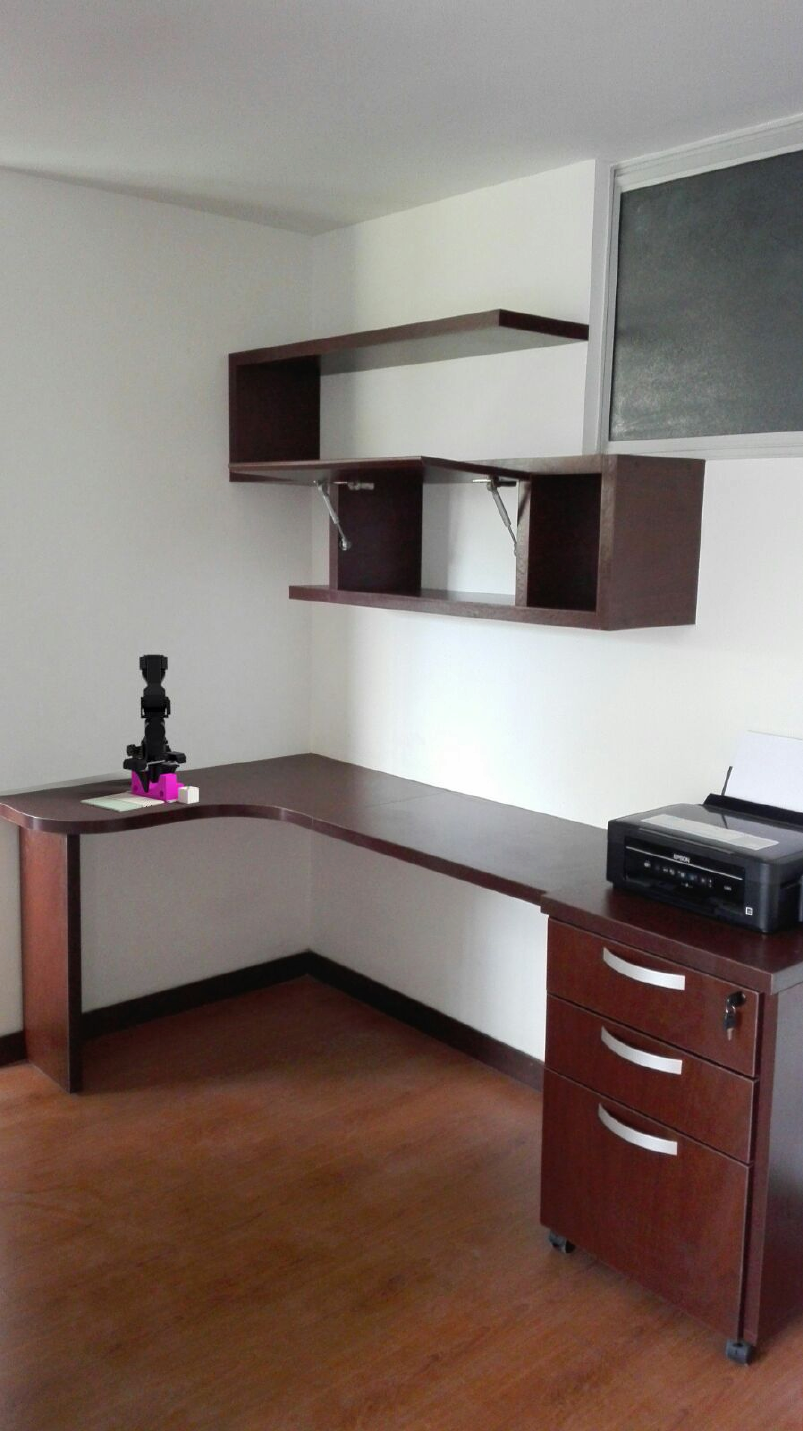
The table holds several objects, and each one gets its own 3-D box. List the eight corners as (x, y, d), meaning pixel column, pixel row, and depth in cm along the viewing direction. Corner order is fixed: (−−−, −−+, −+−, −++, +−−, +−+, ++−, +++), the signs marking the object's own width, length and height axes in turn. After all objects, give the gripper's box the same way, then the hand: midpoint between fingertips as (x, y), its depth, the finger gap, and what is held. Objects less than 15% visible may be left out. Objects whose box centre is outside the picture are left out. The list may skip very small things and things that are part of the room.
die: (189, 799, 334) (189, 785, 333) (198, 802, 331) (198, 787, 331) (178, 802, 331) (178, 787, 330) (187, 804, 328) (187, 789, 328)
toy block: (183, 799, 334) (183, 773, 333) (166, 802, 330) (166, 776, 328) (148, 791, 344) (148, 766, 343) (131, 795, 339) (131, 769, 338)
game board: (142, 790, 345) (142, 788, 345) (186, 799, 334) (186, 797, 333) (78, 802, 328) (78, 800, 328) (122, 812, 316) (122, 810, 316)
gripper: (161, 730, 347) (162, 782, 349) (109, 737, 332) (110, 791, 335) (187, 734, 340) (187, 787, 342) (135, 741, 326) (136, 797, 328)
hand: (155, 790), depth 337 cm, fingers closed on toy block, 6 cm apart
